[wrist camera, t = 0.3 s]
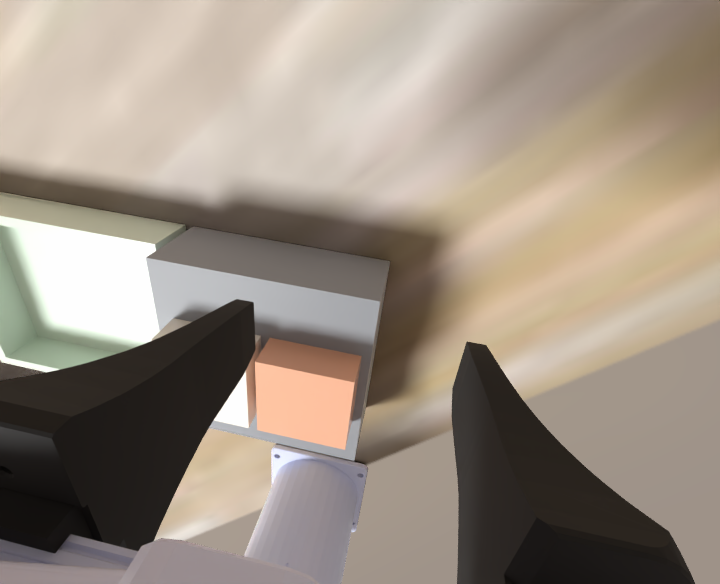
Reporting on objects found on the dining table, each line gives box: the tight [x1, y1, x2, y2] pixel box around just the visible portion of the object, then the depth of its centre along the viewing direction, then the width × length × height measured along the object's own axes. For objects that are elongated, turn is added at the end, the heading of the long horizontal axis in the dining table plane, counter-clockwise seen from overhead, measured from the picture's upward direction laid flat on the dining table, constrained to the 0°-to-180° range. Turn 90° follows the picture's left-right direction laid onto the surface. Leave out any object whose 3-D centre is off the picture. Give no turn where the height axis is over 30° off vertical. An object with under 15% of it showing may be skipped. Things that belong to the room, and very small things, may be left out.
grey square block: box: [146, 226, 390, 461], centre depth 24 cm, size 12×12×4 cm
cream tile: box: [151, 318, 261, 428], centre depth 22 cm, size 5×5×2 cm
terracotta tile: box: [255, 338, 362, 450], centre depth 21 cm, size 5×5×2 cm
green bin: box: [0, 192, 186, 372], centre depth 26 cm, size 12×14×3 cm
